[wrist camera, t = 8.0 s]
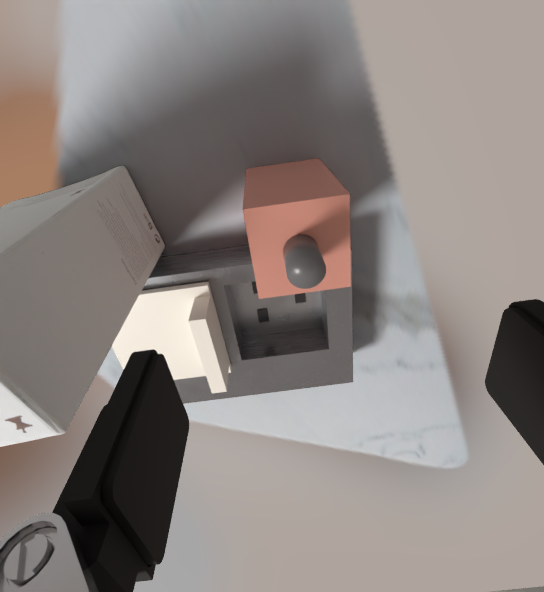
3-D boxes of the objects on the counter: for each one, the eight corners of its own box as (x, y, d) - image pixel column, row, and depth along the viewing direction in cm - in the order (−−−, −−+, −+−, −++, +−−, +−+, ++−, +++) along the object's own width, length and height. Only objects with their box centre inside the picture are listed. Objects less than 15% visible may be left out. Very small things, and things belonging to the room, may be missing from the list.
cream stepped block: (92, 297, 22) (71, 325, 19) (208, 281, 22) (202, 308, 19) (133, 380, 26) (120, 413, 23) (231, 367, 26) (229, 399, 23)
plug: (246, 168, 21) (241, 226, 13) (319, 158, 21) (362, 209, 12) (257, 236, 23) (259, 323, 15) (322, 227, 23) (361, 309, 15)
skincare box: (126, 162, 21) (-75, 288, 8) (170, 250, 24) (75, 440, 11) (5, 203, 22) (-345, 373, 9) (62, 282, 25) (-137, 491, 12)
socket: (128, 261, 24) (113, 283, 21) (341, 231, 24) (351, 249, 21) (174, 378, 30) (167, 405, 28) (344, 356, 30) (352, 381, 27)
